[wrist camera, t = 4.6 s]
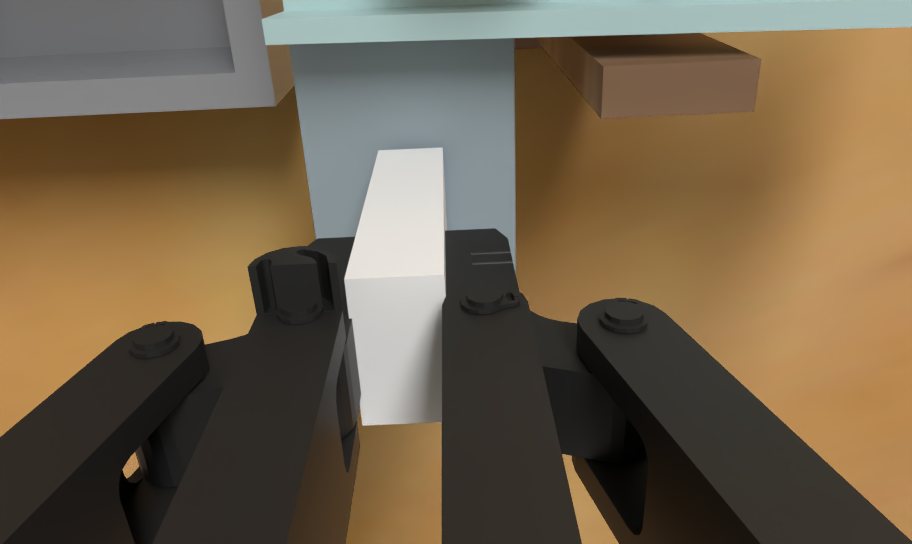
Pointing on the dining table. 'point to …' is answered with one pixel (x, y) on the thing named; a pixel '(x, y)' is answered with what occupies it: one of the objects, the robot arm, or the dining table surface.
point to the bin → (138, 56)
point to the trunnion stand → (654, 73)
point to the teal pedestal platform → (471, 82)
